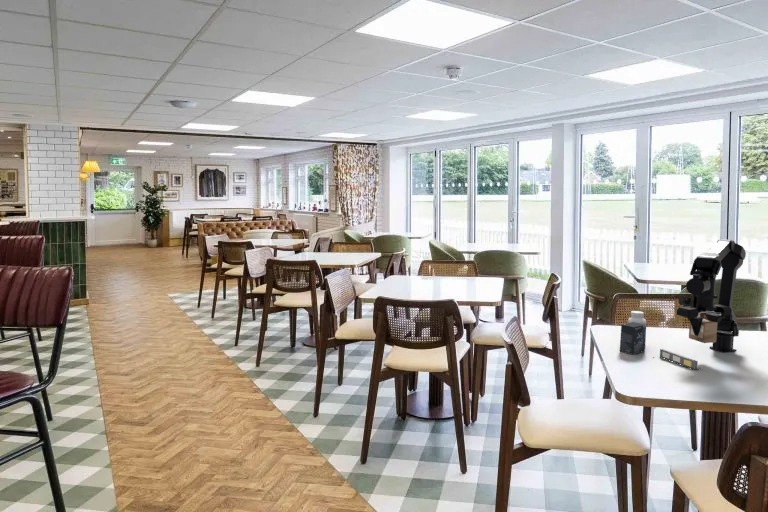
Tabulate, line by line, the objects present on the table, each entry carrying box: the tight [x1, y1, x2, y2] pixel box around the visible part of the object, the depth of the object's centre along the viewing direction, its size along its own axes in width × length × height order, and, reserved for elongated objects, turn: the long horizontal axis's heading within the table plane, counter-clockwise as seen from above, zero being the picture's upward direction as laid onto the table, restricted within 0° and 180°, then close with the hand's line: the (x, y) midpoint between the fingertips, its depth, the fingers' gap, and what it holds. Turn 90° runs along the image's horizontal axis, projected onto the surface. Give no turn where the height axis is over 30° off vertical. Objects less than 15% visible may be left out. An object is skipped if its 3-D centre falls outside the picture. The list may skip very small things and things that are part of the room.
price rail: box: [659, 348, 701, 371], centre depth 199 cm, size 16×3×3 cm, turn 15°
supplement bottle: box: [627, 310, 647, 342], centre depth 224 cm, size 7×7×13 cm
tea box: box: [688, 318, 717, 344], centre depth 200 cm, size 7×5×7 cm
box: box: [619, 322, 647, 355], centre depth 213 cm, size 8×6×11 cm
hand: (702, 335), depth 201 cm, fingers closed on tea box, 5 cm apart
